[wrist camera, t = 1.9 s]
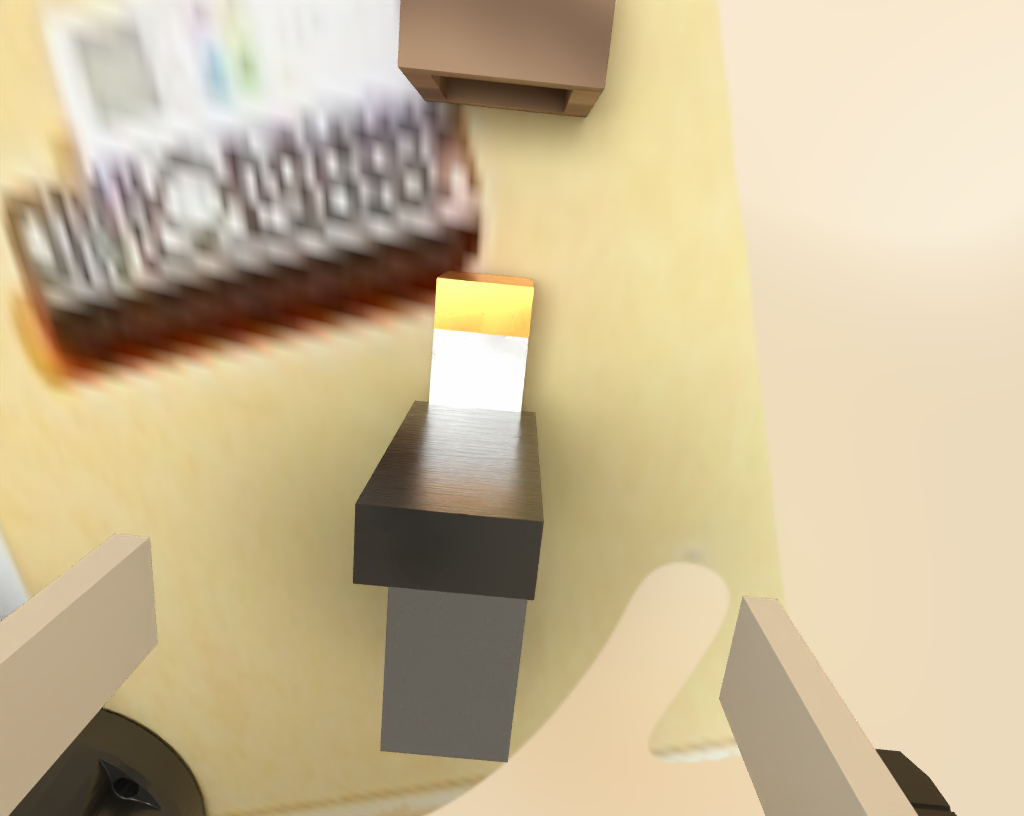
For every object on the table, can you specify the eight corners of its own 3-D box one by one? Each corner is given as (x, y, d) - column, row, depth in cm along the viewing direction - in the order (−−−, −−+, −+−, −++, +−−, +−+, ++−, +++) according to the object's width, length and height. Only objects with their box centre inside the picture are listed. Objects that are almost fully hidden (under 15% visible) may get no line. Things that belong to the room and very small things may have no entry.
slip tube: (500, 680, 35) (489, 960, 22) (408, 672, 35) (341, 948, 22) (545, 280, 29) (567, 331, 16) (434, 268, 29) (361, 311, 16)
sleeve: (509, 675, 36) (507, 762, 30) (402, 665, 36) (380, 751, 30) (536, 441, 32) (540, 489, 26) (416, 429, 32) (394, 475, 26)
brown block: (585, 117, 28) (604, 88, 22) (424, 100, 28) (397, 66, 22) (601, -15, 26) (626, -85, 20) (432, -33, 26) (405, -109, 20)
